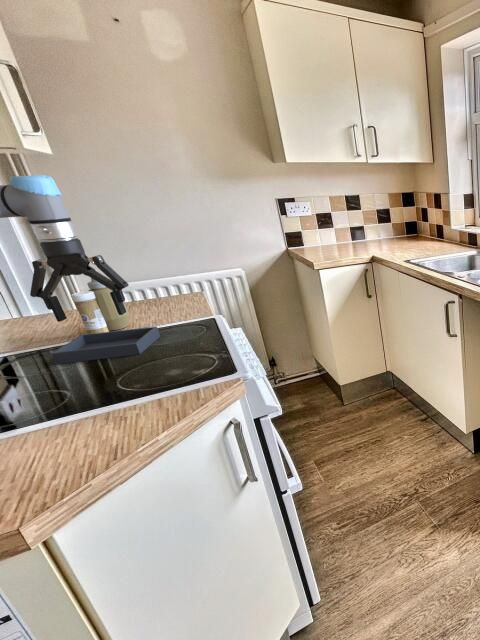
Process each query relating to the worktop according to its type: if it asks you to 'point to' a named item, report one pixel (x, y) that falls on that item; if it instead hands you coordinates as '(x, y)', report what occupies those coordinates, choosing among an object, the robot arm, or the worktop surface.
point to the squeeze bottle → (108, 306)
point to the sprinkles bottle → (89, 312)
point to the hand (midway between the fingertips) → (93, 316)
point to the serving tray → (106, 345)
